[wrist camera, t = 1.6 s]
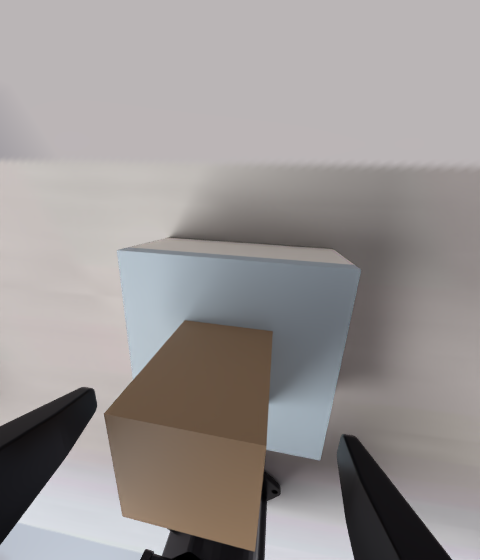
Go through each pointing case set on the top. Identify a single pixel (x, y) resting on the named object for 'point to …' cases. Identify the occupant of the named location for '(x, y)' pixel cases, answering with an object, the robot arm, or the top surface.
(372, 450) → the top surface
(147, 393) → the lid
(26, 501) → the robot arm
